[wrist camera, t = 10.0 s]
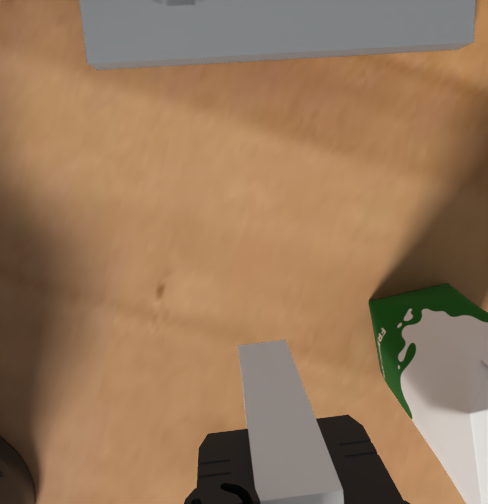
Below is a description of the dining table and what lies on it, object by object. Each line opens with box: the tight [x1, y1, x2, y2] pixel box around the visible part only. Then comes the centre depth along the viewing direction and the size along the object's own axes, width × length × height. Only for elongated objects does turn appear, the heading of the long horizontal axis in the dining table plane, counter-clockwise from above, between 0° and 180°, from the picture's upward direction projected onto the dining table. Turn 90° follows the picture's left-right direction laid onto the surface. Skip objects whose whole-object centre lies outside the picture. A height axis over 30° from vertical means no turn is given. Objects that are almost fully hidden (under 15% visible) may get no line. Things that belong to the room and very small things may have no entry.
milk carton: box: [369, 283, 488, 504], centre depth 31 cm, size 9×9×20 cm
